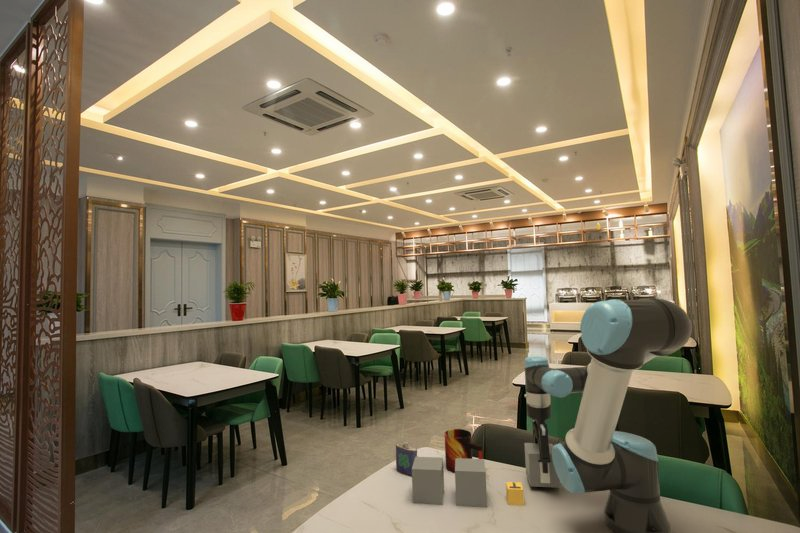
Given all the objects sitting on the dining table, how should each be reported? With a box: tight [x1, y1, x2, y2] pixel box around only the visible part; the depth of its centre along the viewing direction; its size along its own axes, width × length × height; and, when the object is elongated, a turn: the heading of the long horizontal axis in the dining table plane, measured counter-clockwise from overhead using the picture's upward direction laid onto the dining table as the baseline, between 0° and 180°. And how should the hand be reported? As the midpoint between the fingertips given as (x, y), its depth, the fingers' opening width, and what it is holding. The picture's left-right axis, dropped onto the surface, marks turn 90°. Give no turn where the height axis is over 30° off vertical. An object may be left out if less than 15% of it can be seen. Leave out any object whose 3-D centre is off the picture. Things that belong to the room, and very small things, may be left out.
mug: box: [444, 428, 483, 474], centre depth 141 cm, size 10×14×12 cm
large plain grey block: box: [411, 456, 445, 506], centre depth 122 cm, size 9×9×10 cm
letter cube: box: [505, 481, 525, 506], centre depth 118 cm, size 4×4×5 cm
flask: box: [395, 441, 418, 477], centre depth 138 cm, size 9×3×11 cm, turn 50°
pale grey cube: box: [524, 442, 561, 489], centre depth 127 cm, size 9×9×10 cm
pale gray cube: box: [454, 458, 488, 508], centre depth 120 cm, size 9×9×10 cm
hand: (542, 475), depth 127 cm, fingers closed on pale grey cube, 9 cm apart
